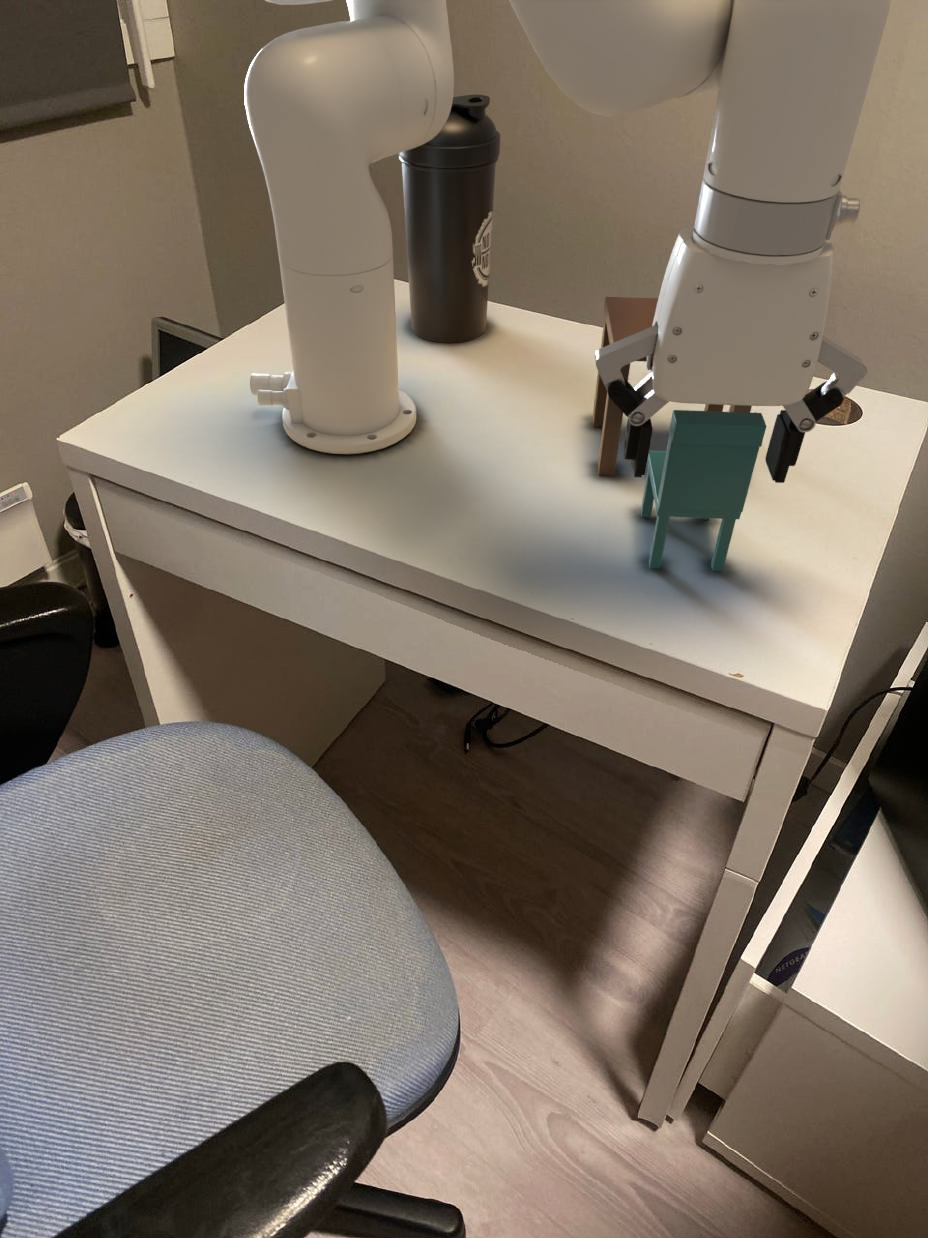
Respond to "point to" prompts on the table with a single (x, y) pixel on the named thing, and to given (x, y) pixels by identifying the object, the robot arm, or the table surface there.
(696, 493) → the chair
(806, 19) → the robot arm
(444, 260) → the water bottle
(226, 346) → the table surface
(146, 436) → the table surface
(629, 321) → the side table
